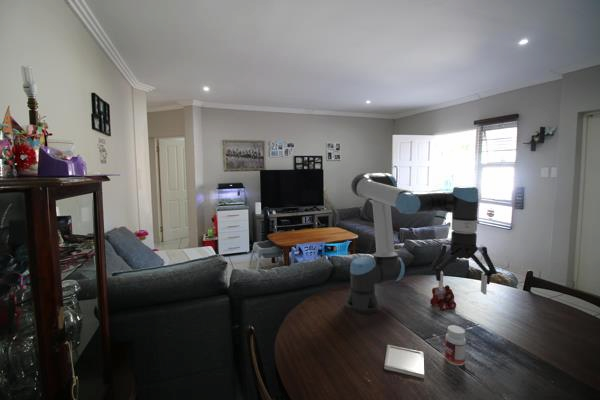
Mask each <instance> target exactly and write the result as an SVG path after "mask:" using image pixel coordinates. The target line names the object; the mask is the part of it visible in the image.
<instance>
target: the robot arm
mask: <svg viewBox="0 0 600 400" xmlns="http://www.w3.org/2000/svg"><path fill="white" fill-rule="evenodd" d="M397 182H398V181H396V178H395V177H394V176H393V175H392V174H391V173H388V172H387V173H386V172H377V173H376V172H372V173H359V174H358V175H356V176H355V177H354V178H353V179H352V181H351V183H350V188H351V191H352V193H353V194H354V196H357V197H359V198H361V199H368V201H369V202H370V203H371V204H372V212H373V213H372V215H373V226H374V240H375V248H376V249H375V250H376V251H375V252H374V254H373V257H372V256H360V257H359V256H358V257H356V258H354V259H353V260H351V262H350V268H349V275H350V282H349V283H350V291H349V294H348V296H347V299H346V308H347V307H348V308H349V309H350V310H349V309H348V308H347V309H348V310H349V311H351V312H353V311H354V312H353V313H355V312H356V313H355V314H359V313H360V314H359V315H372V314H374V313H377V312H378V311H379V308H380V307H379V306H380V305H379V304H380V303H379V300H378V296H377V294H376V285H381V284H387V283H394V282H398V281H400V280H402V278H403V277H404V275H405V264H404V262H403V260H402V258H401V257H399V254H398V252H396V251H395V243H394V233H393V232H394V231H393V221H392V209H391V208H392V207H394V208H396V210H397V211H398V212H399V213H400V214H403V215H404V214H407V215H412V214H421V213H423V214H424V213H433V212H434V213H436V212H437V213H438V212H444V213H450V214H451V230H452V231H451V240H450V241H451V242H450V244H449V245H448V244H444V243H441V245H440V248H439V249H440V250H439V251H438V253H437V254H436V256H435V258H434V260H433V261H432V263H431V264H430V266H429V267H430V269H431V270H432V271H435V279H436V281H438V287H439V290H440V291H443V286H444V272H443V270H445V269H446V268H447V267H448V266H449V265H450V264H451V263H452V262H453V261H454V260H456V258H458V259H465V260H469V259H471V260H473V261H474V263H475V264H476V265H477V266H478V268H479V269H480V270H482V272H481V275H480V276H481V278H480V279H481V280H480V292H481V293H482V294H483V295H487V287H488V286H487V285H490V284H491V277H492V275H497V274H498V272H497V269H496V268H495V266H494V262H493V261H492V260H491V257H490V255H489V253H488V247H486V246H485V245H483V244H481V245H479V246H478V245H477V241H478V239H477V237H478V236H477V235H478V234H477V233H476V232H477V231H478V209H479V189H478V188H477V187H475V186H454V187H453V188H452V191H443V190H429V191H411V190H409V189H408V190H407V189H404V188H401V187H398V183H397ZM449 250H450V251H451V252H450V253H449V254H448V255H447V256H446V258H444V256H445V254H446V252H448V251H449ZM477 251H478V252H479V253H480V254H481V256H482V257H483V259H484V261H485V263H486V266H487V267H488V269H487V267H486V266H485V265H484V264H483V262H482V261H481V260H480V259H479V258H478V256H476V255H475V254H476V253H477ZM443 258H444V259H443ZM441 261H442V262H441Z"/></svg>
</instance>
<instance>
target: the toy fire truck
mask: <svg viewBox="0 0 600 400" xmlns="http://www.w3.org/2000/svg"><path fill="white" fill-rule="evenodd" d="M431 293H432V298H430V300H429V304H430V305H431V306H432V307H438V309H439V311H441V312H446V311H447V310H448V309H450V310H451V311H452V310H455V309H456V308H457V302H456V301H455V294H454V292H453V290H452V289H451V288H450V286H449V285H446V284H445V286H444V285H443V291H440V290H439V286H437V287H433V288H432V290H431Z"/></svg>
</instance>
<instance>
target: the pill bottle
mask: <svg viewBox="0 0 600 400" xmlns="http://www.w3.org/2000/svg"><path fill="white" fill-rule="evenodd" d="M446 331H447V333H446V334H445V341H444V342H445V343H444V359H445V360H446V362H448V363H449V364H451V365H454V366H458V367H459V366H463V365H465V363H466V354H467V353H466V349H467V339H466V331H465V328H463V327H462V326H458V325H453V324H451V325H448V326H447V330H446Z"/></svg>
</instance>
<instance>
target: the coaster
mask: <svg viewBox="0 0 600 400" xmlns="http://www.w3.org/2000/svg"><path fill="white" fill-rule="evenodd" d="M386 346H387V347H386V353H385V360H384V367H383V368H384V370H387V371H391V372H397V373H400V374H405V375H409V376H413V377H418V378H421V379H425V365H424V364H425V363H424V360H425V359H424V351H420V350H416V349H411V348H406V347H403V346H402V347H401V346H396V345H392V344H387V345H386Z"/></svg>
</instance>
